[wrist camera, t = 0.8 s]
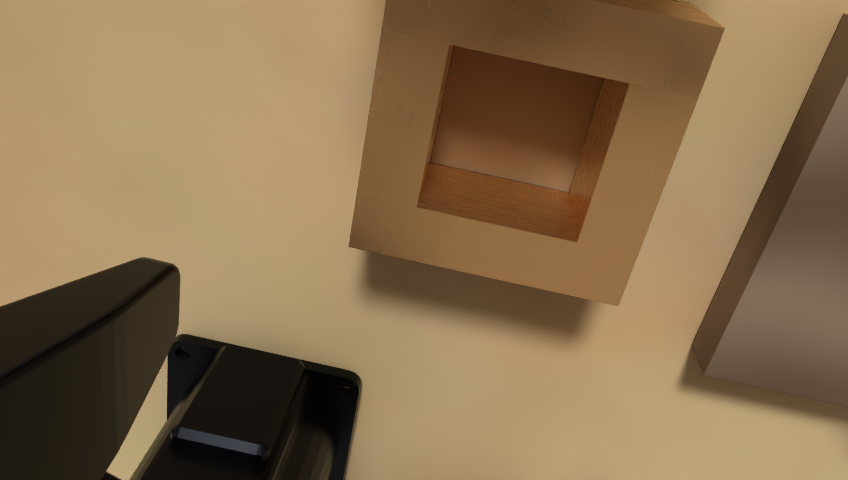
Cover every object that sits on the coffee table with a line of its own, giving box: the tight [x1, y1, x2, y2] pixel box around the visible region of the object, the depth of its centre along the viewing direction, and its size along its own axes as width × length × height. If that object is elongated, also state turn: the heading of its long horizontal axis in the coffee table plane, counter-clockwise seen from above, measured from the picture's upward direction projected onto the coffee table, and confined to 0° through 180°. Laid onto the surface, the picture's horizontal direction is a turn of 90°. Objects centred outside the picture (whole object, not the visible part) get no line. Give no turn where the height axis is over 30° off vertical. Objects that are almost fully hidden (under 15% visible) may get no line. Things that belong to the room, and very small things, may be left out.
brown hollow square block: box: [349, 0, 725, 306], centre depth 17 cm, size 7×7×3 cm
